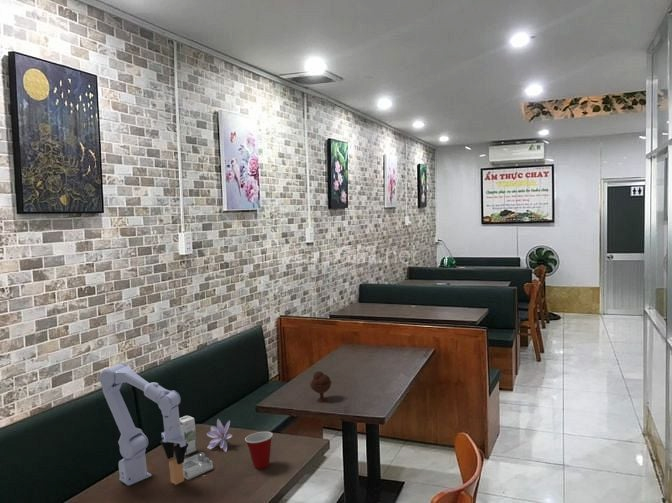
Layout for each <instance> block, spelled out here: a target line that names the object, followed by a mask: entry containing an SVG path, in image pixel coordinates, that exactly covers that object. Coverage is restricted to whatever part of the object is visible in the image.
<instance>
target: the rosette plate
mask: <svg viewBox="0 0 672 503" xmlns="http://www.w3.org/2000/svg"><path fill="white" fill-rule="evenodd" d="M213 463H214V462H213V461H212V460H211V459H210V458H209V457H206V453H205V452H202V451H201V452H198V453H196V454H193V455H192V456H189V457H187V458H184V463H182V465H183V475H184V480H185V479H186V480H187V481H189V480H192V479H193V478H196V477H198V476H200V475H202V474H205V473H207V472H209V471H212V470H213V469H214V465H213Z"/></svg>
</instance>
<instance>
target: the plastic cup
mask: <svg viewBox="0 0 672 503" xmlns="http://www.w3.org/2000/svg"><path fill="white" fill-rule="evenodd" d="M272 437H274V436H273V432H271V431H259V432H253V433H251V434H249V435H247V436H246V437H245V438H244V441H245V442H246V444H247V447H248V450H249V454H250V456H251V457H250V458H251V460H252V465H253V468H254V469H257V470H264V469H266V468H267V467H269V466H270V458H271V449H272V448H271V446H272Z"/></svg>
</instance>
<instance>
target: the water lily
mask: <svg viewBox="0 0 672 503" xmlns="http://www.w3.org/2000/svg"><path fill="white" fill-rule="evenodd" d="M230 424H231V420H228V421H227V422H226V424H225V426H224V425H223V424H222V422H221V420H220V419H219V418H217V420H216V426H217V427H216V426H213V425H212V426H210V431H208V432H207V433H206V435H207V437H209V438H211V440H210V441H209V444H208V446H207V449H208V450H211V449H213V448H215V447H216V446H218V445H219V447H220V449H222V450H223V451H224V452H227V450H228V443H230V441H229V439H230V438H232V437H233V434H231V433H228V431H229V428H230Z"/></svg>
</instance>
